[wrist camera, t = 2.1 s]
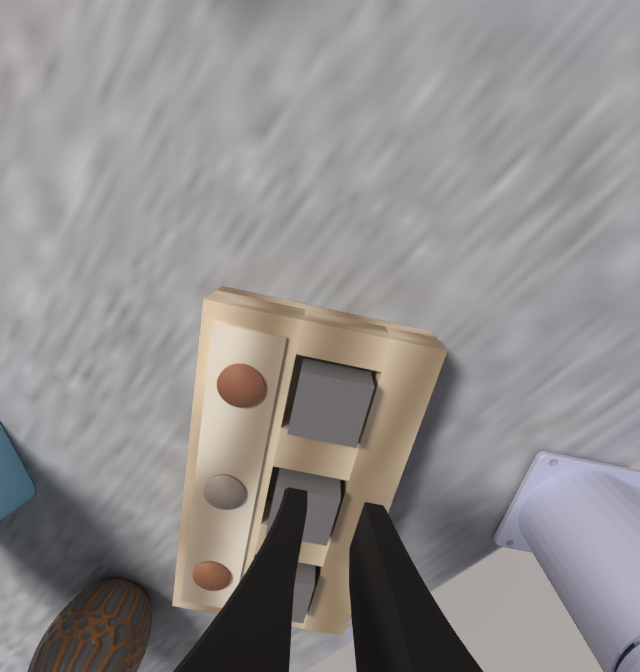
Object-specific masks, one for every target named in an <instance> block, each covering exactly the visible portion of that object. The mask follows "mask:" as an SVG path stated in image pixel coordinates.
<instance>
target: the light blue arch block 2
mask: <svg viewBox="0 0 640 672" xmlns="http://www.w3.org/2000/svg"><path fill="white" fill-rule="evenodd" d="M35 491H36V490H35V486H34V484H33V482H32V480H31V478H30V476H29V474H28V473H27V471H26V469H25V467H24V465H23V463H22V462H21V460H20V458H19V456H18V454H17V453H16V451H15V449H14V447H13V445H12V444H11V442H10V440H9V438H8V436H7V434H6V433H5V431H4V429H3V427H2V425H1V424H0V521H1V520H2V519H3V518H5V517H6V516H7V515H9V514H10V513H11V512H13V511H14V510H16V509H17V508H19V507H20V506H21V505H23V504H24V503H26V502H27V501H29V500H30V499H31V498H32V497H33V496H34V494H35Z"/></svg>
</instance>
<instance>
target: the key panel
mask: <svg viewBox="0 0 640 672" xmlns="http://www.w3.org/2000/svg"><path fill="white" fill-rule="evenodd" d="M446 354H447V350H446V349H445V348H444V346H443V345H442V344H441V343H440V342H439V341H438V339H437V338H436V337H435V336H434V335H433V334H432V332H431V331H427V330H422V329H417V328H413V327H408V326H403V325H399V324H394V323H390V322H385V321H380V320H376V319H371V318H366V317H362V316H357V315H352V314H348V313H343V312H338V311H334V310H329V309H325V308H320V307H315V306H311V305H306V304H301V303H297V302H292V301H287V300H283V299H278V298H273V297H269V296H264V295H260V294H255V293H250V292H246V291H241V290H236V289H232V288H227V287H221V288H219V289H218V290H216V291H215V292H213V293H212V294H210V295H209V296H207V297H206V298H204V300H203V310H202V319H201V329H200V339H199V349H198V359H197V368H196V378H195V388H194V398H193V408H192V417H191V427H190V437H189V447H188V457H187V466H186V476H185V486H184V496H183V506H182V515H181V525H180V535H179V545H178V555H177V564H176V574H175V584H174V594H173V604H172V606H175V607H181V608H187V609H193V610H199V611H204V612H210V613H216V614H218V613H219V612H220V610H221V609H222V608H223V606H224V605H225V603H226V602H227V600H228V599H229V597H230V596H231V595H232V593H233V592H234V590H235V589H236V587H237V586H238V584H239V582H240V581H241V579H242V578H243V576H244V575H245V573H246V571H247V570H248V568H249V566H250V565H251V563H252V561H253V559H254V558H255V556H256V554H257V553H258V551H259V549H260V547H261V545H262V544H263V542H264V540H265V538H266V536H267V535H266V530H267V525H268V520H269V515H270V510H271V505H272V501H273V496H274V491H275V487H276V482H277V477H278V473H279V468H285V469H290V470H295V471H300V472H305V473H311V474H316V475H321V476H326V477H331V478H336V479H340V488H341V500H340V503H339V507H338V510H337V513H336V517H335V520H334V523H333V526H332V530H331V533H330V536H329V540H328V543H327V546H324V545H319V544H313V543H308V542H302V543H301V549H300V554H299V560H298V562H300V563H305V564H311V565H316V566H315V586H314V590H313V593H312V596H311V600H310V603H309V606H308V610H307V613H306V616H305V619H304V623H298V622H292V625H291V627H297V628H303V629H308V630H314V631H320V632H326V633H332V634H337V635H343V634H344V632H345V629H346V626H347V623H348V621H349V618H350V615H351V603H350V591H349V548H350V545H351V542H352V539H353V536H354V533H355V530H356V527H357V524H358V521H359V518H360V515H361V512H362V509H363V506H364V502H369V503H374V504H379V505H383V506H384V507H385V509H386V511H387V513H388V512H389V509H390V506H391V504H392V501H393V498H394V495H395V493H396V490H397V487H398V484H399V482H400V479H401V476H402V474H403V471H404V468H405V465H406V463H407V460H408V457H409V455H410V452H411V449H412V446H413V444H414V441H415V438H416V435H417V433H418V430H419V427H420V425H421V422H422V419H423V416H424V414H425V411H426V408H427V406H428V403H429V400H430V397H431V395H432V392H433V389H434V386H435V384H436V381H437V378H438V376H439V373H440V370H441V367H442V365H443V362H444V359H445V357H446ZM304 356H307V357H312V358H317V359H321V360H326V361H331V362H336V363H340V364H345V365H350V366H355V367H360V368H364V369H369V370H370V371H371V375H372V379H373V383H374V390H373V394H372V397H371V400H370V404H369V407H368V410H367V414H366V417H365V420H364V424H363V427H362V430H361V434H360V437H359V440H358V443H357V447H356V448H353V447H348V446H343V445H338V444H333V443H328V442H323V441H318V440H313V439H308V438H303V437H298V436H293V435H288V434H287V433H288V428H289V423H290V417H291V412H292V408H293V403H294V398H295V394H296V389H297V385H298V380H299V375H300V371H301V366H302V361H303V357H304Z"/></svg>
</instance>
